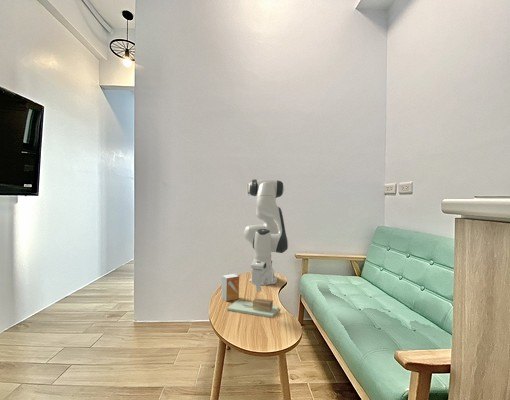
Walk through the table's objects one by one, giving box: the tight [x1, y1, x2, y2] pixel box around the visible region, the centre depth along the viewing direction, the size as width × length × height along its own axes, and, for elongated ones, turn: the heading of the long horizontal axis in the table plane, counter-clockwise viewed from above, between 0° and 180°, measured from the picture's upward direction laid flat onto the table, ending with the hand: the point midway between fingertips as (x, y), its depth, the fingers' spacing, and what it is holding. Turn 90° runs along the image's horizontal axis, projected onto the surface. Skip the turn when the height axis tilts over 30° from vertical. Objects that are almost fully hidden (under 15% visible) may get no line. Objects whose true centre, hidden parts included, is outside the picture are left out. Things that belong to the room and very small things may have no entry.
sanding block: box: [252, 297, 274, 312], centre depth 150 cm, size 5×9×4 cm, turn 70°
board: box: [227, 299, 280, 318], centre depth 152 cm, size 12×24×1 cm, turn 69°
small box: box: [221, 273, 240, 302], centre depth 167 cm, size 8×6×13 cm
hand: (262, 288), depth 150 cm, fingers open, 8 cm apart
